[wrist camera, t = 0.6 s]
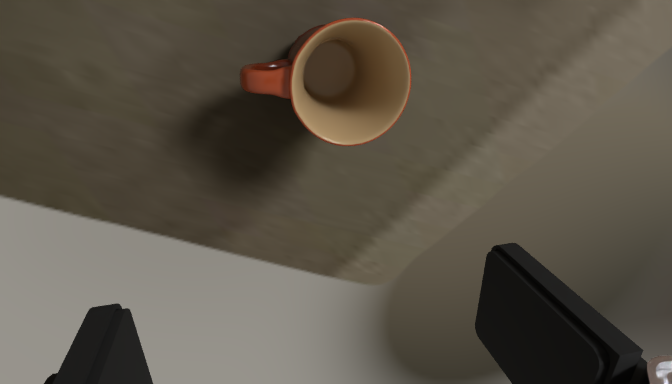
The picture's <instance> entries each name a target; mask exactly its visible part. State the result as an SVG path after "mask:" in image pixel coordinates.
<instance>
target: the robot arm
mask: <svg viewBox="0 0 672 384" xmlns="http://www.w3.org/2000/svg"><path fill="white" fill-rule="evenodd" d="M475 329H476V333H477V335H478V337H479V339H480V340H481V341H482V343H483V344H484V345H485V347H486V348H487V350H488V351H489V352H490V354H491V355H492V357H493V358H494V359H495V361H496V362H497V363H498V365H499V366H500V368H501V369H502V370H503V372H504V373H505V374H506V376H507V377H508V378H509V380H510V381H511V383H512V384H672V356H657V357H654V358H652V359H651V360H650V361H649V362H648V363H647V362H646V361H645V360H644V359H643V358H641V355H642V352H643V350H642V349H641V348H640V347H639V346H637V345H636V344H635V343H634V342H633V341H632V340H630V339H629V338H628V337H627V336H626V335H624V334H623V333H622V332H621V331H620V330H619V329H617V328H616V327H615V326H614V325H613V324H611V323H610V322H609V321H608V320H607V319H606V318H604V317H603V316H602V315H601V314H600V313H598V312H597V311H596V310H595V309H594V308H593V307H591V306H590V305H589V304H588V303H586V302H585V301H584V300H583V299H582V298H581V297H580V296H578V295H577V294H576V293H575V292H574V291H572V290H571V289H570V288H569V287H568V286H567V285H565V284H564V283H563V282H562V281H561V280H559V279H558V278H557V277H556V276H555V275H554V274H552V273H551V272H550V271H549V270H548V269H546V268H545V267H544V266H543V265H542V264H541V263H539V262H538V261H537V260H536V259H535V258H533V257H532V256H531V255H530V254H529V253H528V252H526V251H525V250H524V249H523V248H522V247H520V246H519V245H518V244H516V243H509V244H502V245H496V246H494V247H493V248H492V250H491V252H489V253H488V254H487V257H486V262H485V268H484V275H483V280H482V287H481V293H480V298H479V304H478V310H477V316H476V322H475ZM44 384H153V382H152V379H151V375H150V372H149V369H148V366H147V363H146V359H145V356H144V353H143V350H142V346H141V343H140V340H139V337H138V334H137V330H136V327H135V324H134V321H133V318H132V314H131V312H130V310H129V309H122V307H121V306H120V304H112V305H105V306H98V307H92V308H91V309H90V310H89V311H88V313H87V315H86V317H85V319H84V321H83V323H82V325H81V327H80V329H79V331H78V333H77V335H76V337H75V339H74V341H73V343H72V345H71V347H70V349H69V351H68V353H67V355H66V357H65V360H64V361H63V363H62V366H61V368H60V370H59V372H58V373H56V374H52V375H51V376H50V377H48V378H47V380H46V381H45V383H44Z"/></svg>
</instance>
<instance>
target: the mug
mask: <svg viewBox="0 0 672 384" xmlns="http://www.w3.org/2000/svg"><path fill="white" fill-rule="evenodd" d="M240 83H241V87H242V88H243V89H244V90H245V91H247V92H250V93H256V94H269V95H276V96H278V97H281V98H285V99H291V103H292V107H293V110H294V112H295V114H296V115H297V117H298V118H299V120H300V121H301V123H302V124H303V125H304V126H305V127H306V129H307V130H308V131H310V132H311V133H312V134H313V135H314V136H316V137H317V138H319V139H321V140H323V141H325V142H327V143H330V144H334V145H339V146H356V145H361V144H365V143H368V142H370V141H373V140H375V139H376V138H378V137H380V136H381V135H383V134H384V133H385V132H387V131H388V130H389V129H390V128H391V127H392V126H393V125H394V124H395V123H396V121H397V120H398V119H399V117H400V116H401V114H402V112H403V111H404V108H405V106H406V104H407V101H408V98H409V94H410V89H411V69H410V63H409V60H408V57H407V54H406V52H405V50H404V48H403V46H402V45H401V43H400V41H399V40H398V39H397V38H396V37H395V36H394V35H393V34H392V33H391V32H390V31H389V30H388V29H387V28H385V27H383V26H382V25H380V24H378V23H376V22H373V21H371V20H367V19H362V18H345V19H340V20H337V21H334V22H331V23H329V24H326V25H320V26H316V27H314V28H312V29H310V30H308V31H306V32H305V33H304V34H302V35H301V36H299V37H298V38H297V40H296V41H295V43H294V44H293V46H292V47H291V49H290V51H289V54H288V58H287V59H282V60H276V61H273V62H268V63H255V64H249V65H245V66H243V67H242V68H241V70H240Z"/></svg>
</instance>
